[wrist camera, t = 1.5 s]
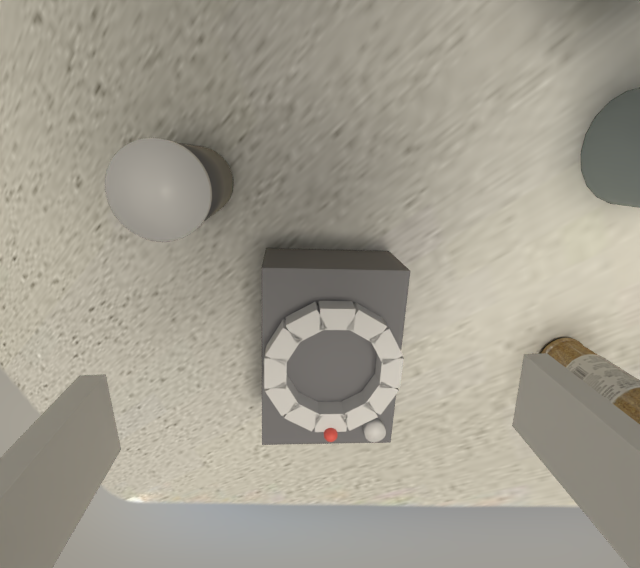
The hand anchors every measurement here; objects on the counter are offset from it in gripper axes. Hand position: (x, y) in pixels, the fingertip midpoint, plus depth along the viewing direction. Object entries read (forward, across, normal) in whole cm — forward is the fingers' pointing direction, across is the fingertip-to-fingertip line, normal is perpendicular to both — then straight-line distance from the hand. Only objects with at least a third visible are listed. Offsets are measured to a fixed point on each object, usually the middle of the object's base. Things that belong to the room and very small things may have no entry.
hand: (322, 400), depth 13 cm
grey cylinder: (+20, -8, +6) cm, 23 cm away
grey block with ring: (+20, +2, -7) cm, 22 cm away
